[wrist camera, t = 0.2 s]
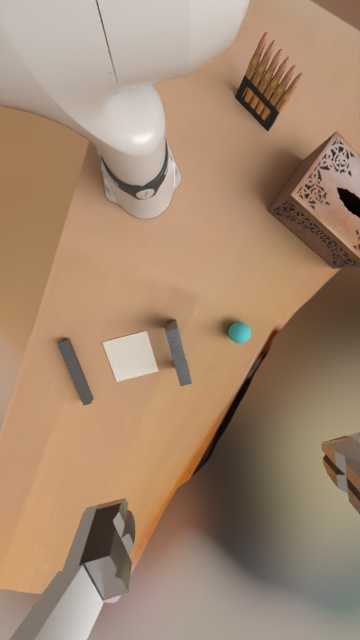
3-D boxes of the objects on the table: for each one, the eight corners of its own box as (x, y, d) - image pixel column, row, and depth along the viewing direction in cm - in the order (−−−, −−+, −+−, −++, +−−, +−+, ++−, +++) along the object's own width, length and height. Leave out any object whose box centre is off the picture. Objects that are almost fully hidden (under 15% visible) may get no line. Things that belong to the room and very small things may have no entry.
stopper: (62, 339, 54) (57, 342, 51) (69, 338, 54) (64, 341, 51) (87, 400, 58) (83, 405, 56) (93, 398, 58) (90, 403, 56)
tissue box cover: (367, 224, 53) (413, 212, 43) (332, 268, 55) (368, 266, 45) (302, 160, 49) (336, 131, 39) (266, 210, 51) (290, 194, 41)
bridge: (178, 368, 58) (180, 386, 49) (165, 322, 55) (165, 331, 45) (187, 366, 58) (191, 383, 49) (175, 319, 55) (177, 328, 45)
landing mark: (102, 342, 55) (102, 342, 55) (146, 330, 55) (146, 331, 55) (116, 381, 58) (116, 381, 57) (158, 370, 58) (158, 371, 58)
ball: (224, 322, 56) (230, 328, 50) (243, 317, 56) (252, 322, 50) (227, 341, 57) (234, 348, 51) (247, 336, 57) (256, 343, 52)
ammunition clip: (272, 124, 46) (308, 72, 34) (267, 131, 46) (301, 82, 35) (240, 89, 44) (266, 22, 33) (234, 97, 44) (259, 32, 33)
